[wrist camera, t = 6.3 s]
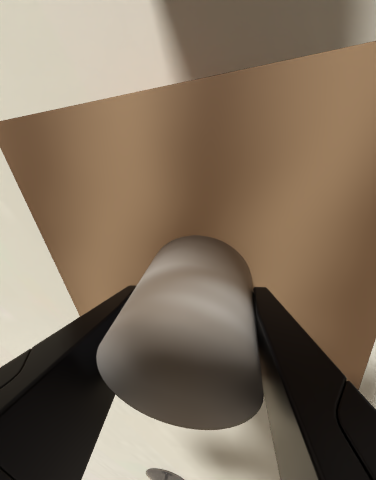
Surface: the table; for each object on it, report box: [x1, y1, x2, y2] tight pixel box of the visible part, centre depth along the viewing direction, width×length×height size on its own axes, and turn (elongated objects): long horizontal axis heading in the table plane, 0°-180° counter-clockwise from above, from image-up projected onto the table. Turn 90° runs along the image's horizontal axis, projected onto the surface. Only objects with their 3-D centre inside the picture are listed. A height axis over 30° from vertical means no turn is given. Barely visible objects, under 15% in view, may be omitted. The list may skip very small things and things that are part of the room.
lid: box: [0, 41, 376, 430], centre depth 7 cm, size 13×13×5 cm
